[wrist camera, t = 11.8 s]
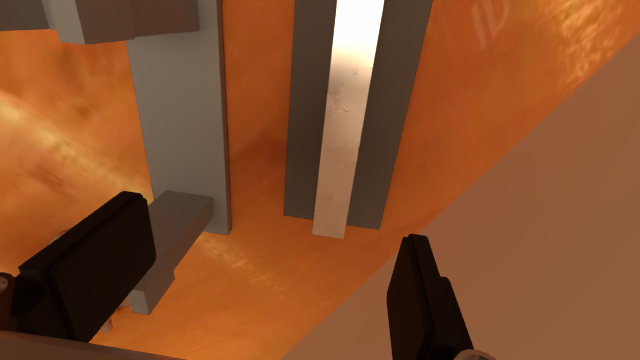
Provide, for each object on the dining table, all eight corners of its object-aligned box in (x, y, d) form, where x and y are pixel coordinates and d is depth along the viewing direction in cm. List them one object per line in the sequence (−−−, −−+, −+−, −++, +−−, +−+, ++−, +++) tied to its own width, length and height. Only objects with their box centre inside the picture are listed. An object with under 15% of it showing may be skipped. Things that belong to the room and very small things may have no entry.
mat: (378, 226, 33) (379, 229, 32) (285, 212, 33) (283, 215, 33) (448, -75, 21) (450, -77, 21) (301, -89, 22) (300, -91, 21)
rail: (344, 220, 32) (343, 239, 30) (316, 216, 32) (312, 234, 30) (393, -72, 21) (398, -85, 18) (349, -77, 21) (347, -89, 19)
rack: (231, 229, 35) (165, 337, 24) (163, 219, 36) (65, 319, 24) (219, -36, 24) (75, -88, 12) (118, -47, 24) (-117, -107, 12)
